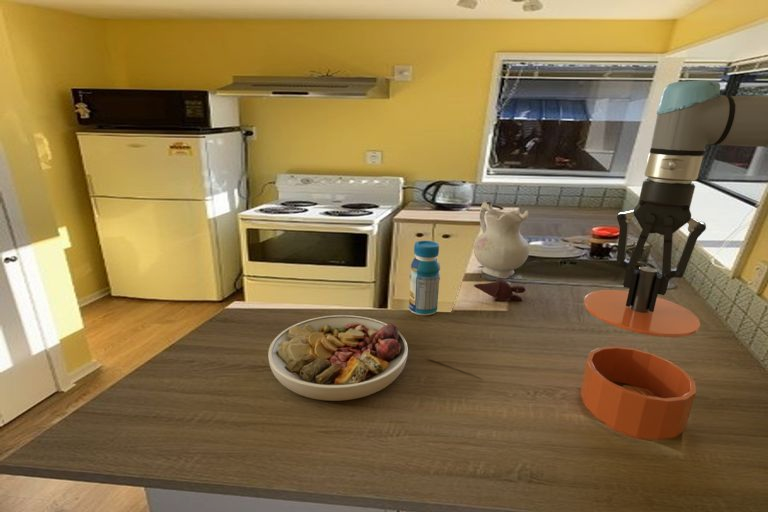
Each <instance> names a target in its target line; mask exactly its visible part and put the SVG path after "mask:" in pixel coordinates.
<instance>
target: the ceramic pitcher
mask: <svg viewBox="0 0 768 512" xmlns="http://www.w3.org/2000/svg"><path fill="white" fill-rule="evenodd" d="M492 203H493V201H492V200H487V199H484V200H483V201H482V204H481V206H480V210H479V223H480V228H481V231H482V233H481V234H480V235H478V236H477V237H475V239H474V242H473V254H474V257H475V259H476V261H477V262H478V263H479V264H480V265H481V266H483V267H482V268H481V270H480V271H481V273H483V274H486V275H489V276H491V277H493V278H497V279H508V278H510V277H511V276H513V275H515V270H517V269H519V268H520V267H522V266H523V265H524V264H525V262H526V261H527V260H528V258H529V255H530V250H531V249H530V248H531V247H530V243H529V242H528V241H527V239H525V238H524V237H523V236H522V234H521V227H522V224H523V223H524V222H525V221H526V220H527V219H528V217H529V210H525V211H524V213H521V212H520V211H519V210H518V211H517V210H511V211H506V212H504V211H500V210H495V209H494V208H493V204H492Z"/></svg>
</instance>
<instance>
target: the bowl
mask: <svg viewBox="0 0 768 512" xmlns="http://www.w3.org/2000/svg"><path fill="white" fill-rule="evenodd" d="M408 347H409V346H408V343H407V341H406V339H405V337H404V336H403V335H402V334H401V332H400V331H399V330H398V327H397V326H396V325H394V324H392V323H386V322H383V321H380V320H378V319H374V318H371V317H367V316H361V315H360V316H359V315H350V314H349V315H347V314H337V315H335V314H334V315H325V316H319V317H313V318H310V319H306V320H303V321H300V322H298V323H295V324H292V325H291V326H288V327H287V328H286V329H284V330H283V331H281V332H280V333H279V334H278V335H277V336H276V337H275V338H274V339H273V340H272V342H271V343H270V345H269V348H268V354H267V355H268V356H267V357H268V364H269V367H270V370H271V372H272V374H273V375H274V377H275V379H277V381H278V382H279V383H280V384H281V385H282V386H284V387H285V388H286V389H288V390H290V391H291V392H292V393H294V394H297V395H298V396H299V395H300V396H303V397H306V398H309V399H312V400H313V399H314V400H319V401H330V402H335V401H336V402H338V401H339V402H341V401H342V402H343V401H350V400H356V399H357V400H358V399H361V398H364V397H367V396H371V395H374V394H376V393H377V392H380V391H382V390H383V389H385V388H387V387H388V386H389V385H391V384H393V382H394V381H395V380H397V378H398V377H399V376H400V375H401V373H402V372H403V370H404V368H405V367H406V363H407V360H408V353H409V349H408Z"/></svg>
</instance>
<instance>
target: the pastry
mask: <svg viewBox="0 0 768 512" xmlns="http://www.w3.org/2000/svg"><path fill="white" fill-rule="evenodd" d="M619 386H620V387H622V388H624V389H626V390H629V391H633V392H636V393H639V394H642V395H645V396H651V397H658V396H657V395H655V394H653V392H651V391H650V390H648V389H643V388H640V387H636V386H633V385H629V384H623V385H622V386H621V385H619Z"/></svg>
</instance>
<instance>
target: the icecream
mask: <svg viewBox="0 0 768 512" xmlns="http://www.w3.org/2000/svg"><path fill="white" fill-rule="evenodd" d="M473 287H474V288H476V289H478V290H479V291H481V292H483V293H485V294H487V295H488V296H490V297H492V298H494V301H495V302H497V301H498V302H505V301H508V300H509V299H510V300H511V301H515V302H522V301H523V298H522V296H520V295H518V294H524V293H525V292H526V287H524V286H523V285H515V286H511V284H510V283H509V282H507V281H506V280H503V279H501V278H498V280H496V281H492V282H485V283H477V284H473Z"/></svg>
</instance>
